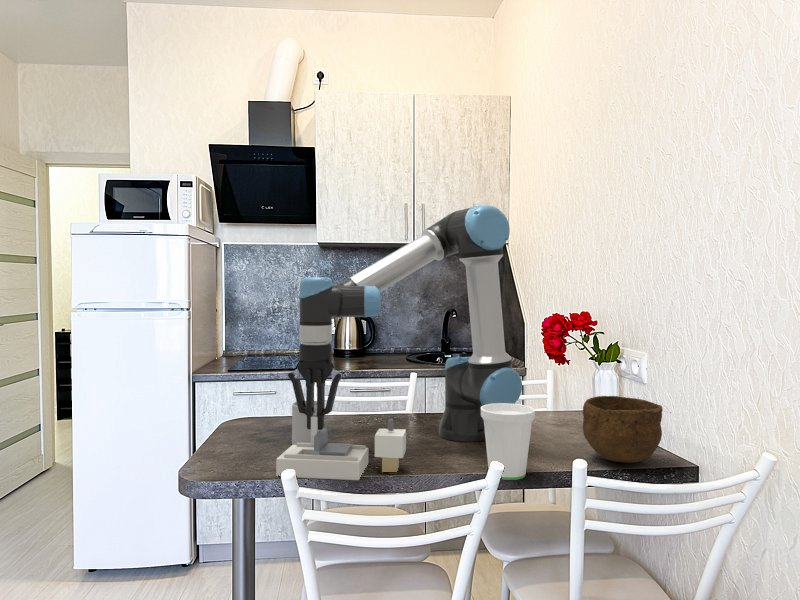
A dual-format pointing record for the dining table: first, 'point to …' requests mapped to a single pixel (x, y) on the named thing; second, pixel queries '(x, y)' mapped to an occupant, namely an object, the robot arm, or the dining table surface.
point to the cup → (508, 436)
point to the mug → (300, 425)
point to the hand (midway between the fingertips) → (315, 443)
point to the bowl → (622, 427)
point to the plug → (390, 446)
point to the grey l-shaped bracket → (329, 445)
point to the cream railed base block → (323, 463)
